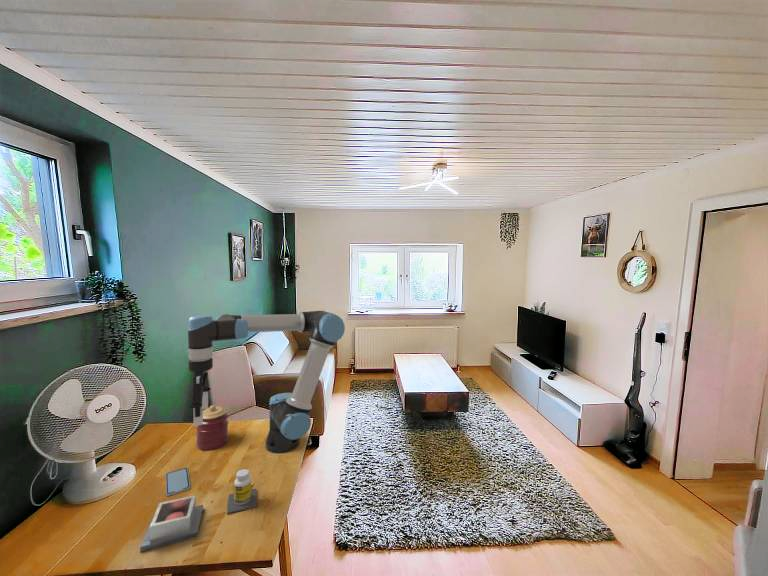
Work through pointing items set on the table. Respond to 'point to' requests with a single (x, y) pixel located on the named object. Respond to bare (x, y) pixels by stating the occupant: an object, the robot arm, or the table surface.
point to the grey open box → (173, 523)
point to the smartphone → (177, 481)
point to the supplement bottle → (242, 487)
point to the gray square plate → (236, 508)
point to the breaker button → (175, 516)
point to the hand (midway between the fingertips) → (201, 416)
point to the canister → (212, 429)
